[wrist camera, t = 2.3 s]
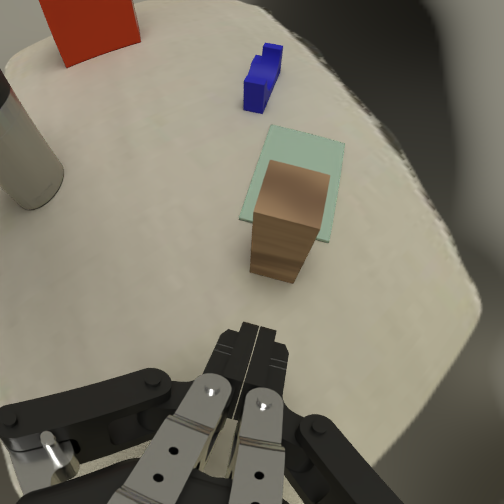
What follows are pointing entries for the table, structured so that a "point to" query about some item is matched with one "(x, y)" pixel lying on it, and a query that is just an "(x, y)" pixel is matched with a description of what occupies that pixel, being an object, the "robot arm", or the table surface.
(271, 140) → the sage mat
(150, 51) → the table surface
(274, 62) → the blue cradle block
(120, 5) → the file binder
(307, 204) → the walnut block
